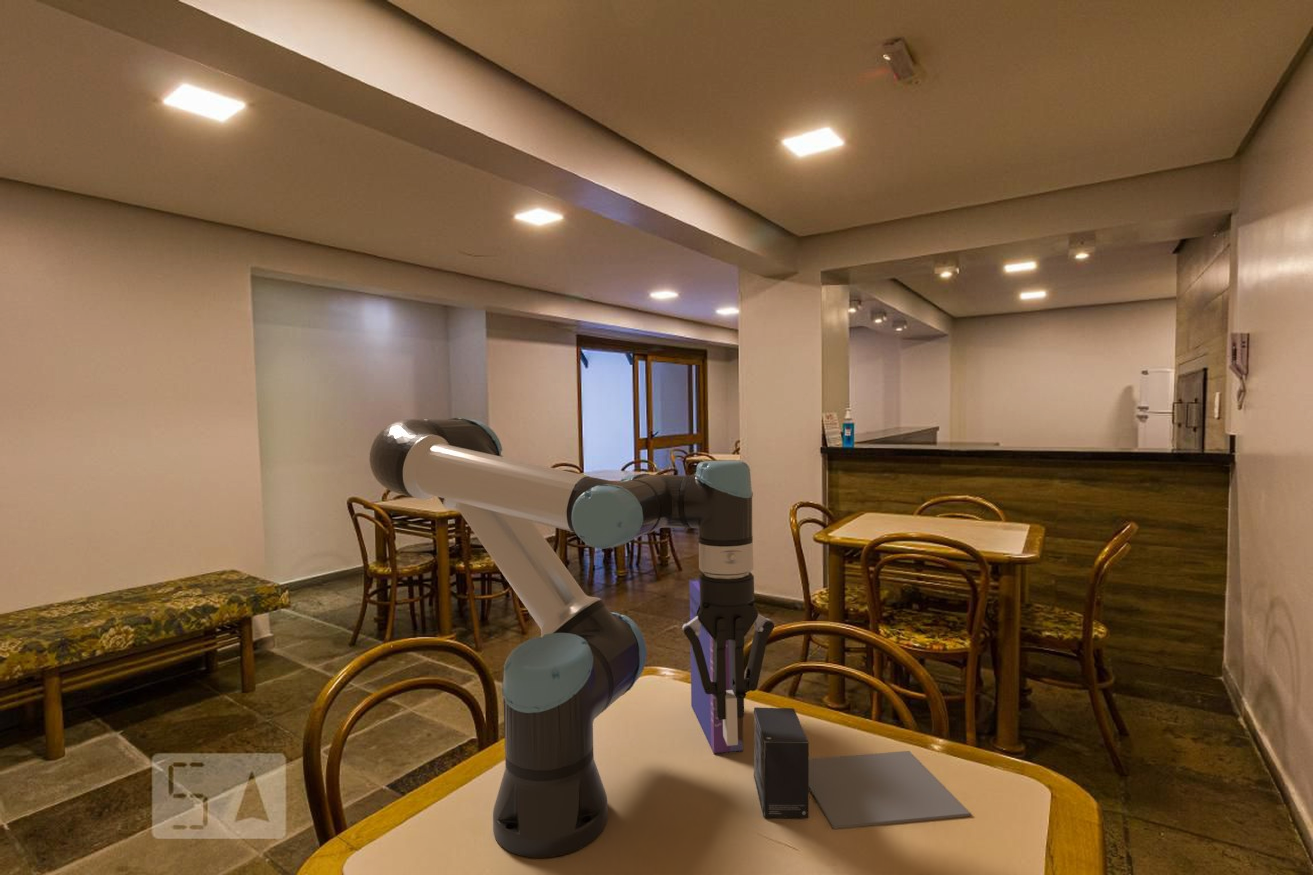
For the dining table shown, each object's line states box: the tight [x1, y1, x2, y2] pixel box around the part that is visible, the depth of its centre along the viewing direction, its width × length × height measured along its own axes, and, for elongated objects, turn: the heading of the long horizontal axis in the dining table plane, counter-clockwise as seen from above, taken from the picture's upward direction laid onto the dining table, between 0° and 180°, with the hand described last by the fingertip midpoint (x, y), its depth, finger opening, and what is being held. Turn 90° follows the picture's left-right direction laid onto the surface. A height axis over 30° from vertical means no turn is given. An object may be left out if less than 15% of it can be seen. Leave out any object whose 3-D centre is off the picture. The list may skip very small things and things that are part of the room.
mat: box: [809, 750, 972, 830], centre depth 91 cm, size 19×16×1 cm
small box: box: [753, 706, 810, 819], centre depth 89 cm, size 11×6×10 cm, turn 179°
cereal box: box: [688, 577, 744, 755], centre depth 109 cm, size 17×5×24 cm, turn 9°
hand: (730, 740), depth 88 cm, fingers closed
